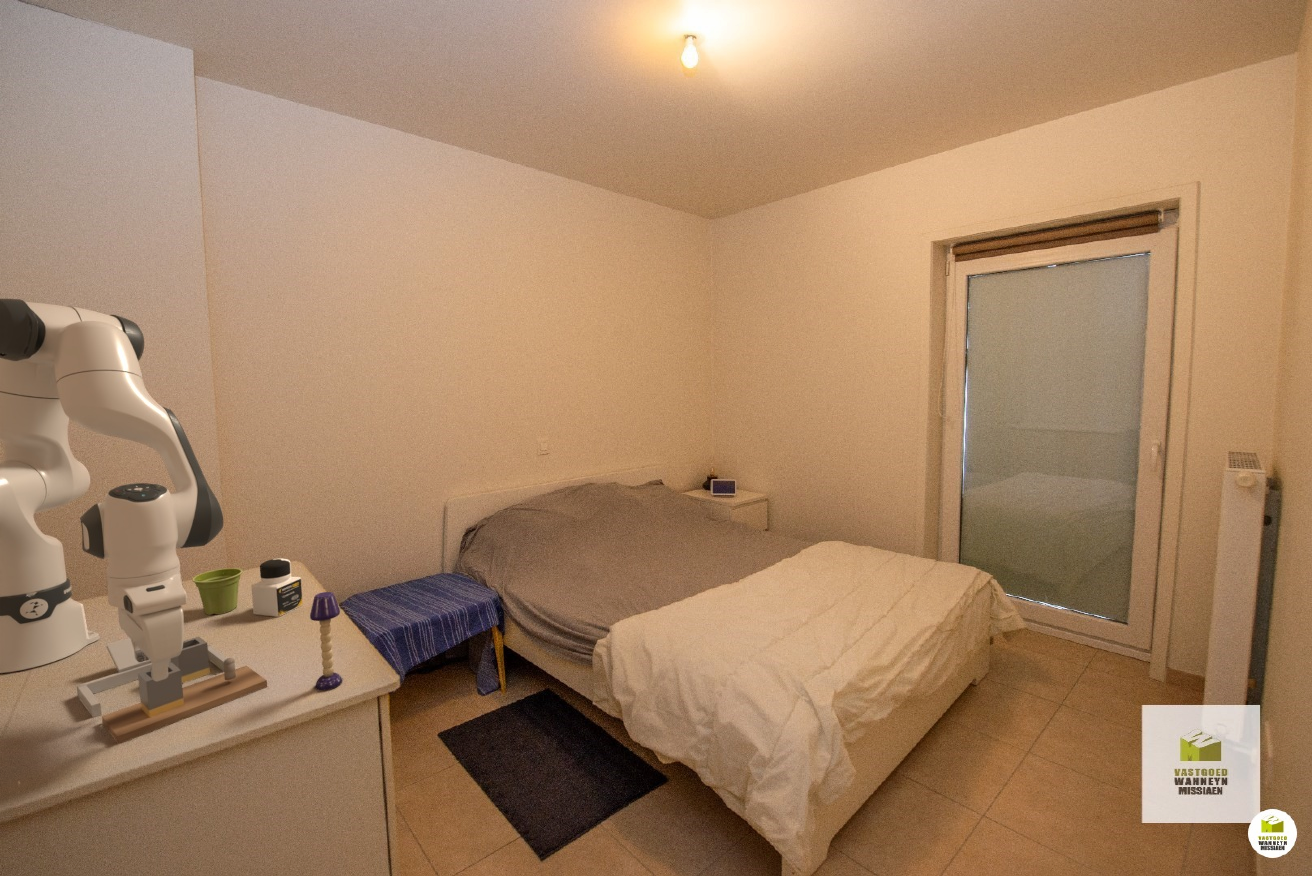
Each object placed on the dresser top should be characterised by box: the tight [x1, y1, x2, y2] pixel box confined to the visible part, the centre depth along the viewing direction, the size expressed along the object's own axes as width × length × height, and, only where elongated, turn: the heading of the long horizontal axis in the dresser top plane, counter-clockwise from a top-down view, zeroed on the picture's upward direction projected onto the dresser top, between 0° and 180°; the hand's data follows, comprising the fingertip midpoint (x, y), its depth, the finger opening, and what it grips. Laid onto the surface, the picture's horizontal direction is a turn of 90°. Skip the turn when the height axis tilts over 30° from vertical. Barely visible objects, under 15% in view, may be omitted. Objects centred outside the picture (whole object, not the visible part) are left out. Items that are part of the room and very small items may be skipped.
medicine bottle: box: [251, 558, 303, 618], centre depth 137 cm, size 7×7×12 cm
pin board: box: [101, 657, 268, 745], centre depth 98 cm, size 9×20×6 cm, turn 144°
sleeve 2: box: [171, 636, 211, 684], centre depth 108 cm, size 4×4×6 cm
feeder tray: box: [76, 637, 228, 718], centre depth 107 cm, size 18×19×5 cm
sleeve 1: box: [137, 663, 184, 717], centre depth 95 cm, size 4×4×6 cm
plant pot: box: [192, 567, 243, 615], centre depth 137 cm, size 9×9×9 cm
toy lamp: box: [309, 591, 343, 691], centre depth 104 cm, size 5×5×17 cm
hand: (151, 668), depth 94 cm, fingers open, 8 cm apart
